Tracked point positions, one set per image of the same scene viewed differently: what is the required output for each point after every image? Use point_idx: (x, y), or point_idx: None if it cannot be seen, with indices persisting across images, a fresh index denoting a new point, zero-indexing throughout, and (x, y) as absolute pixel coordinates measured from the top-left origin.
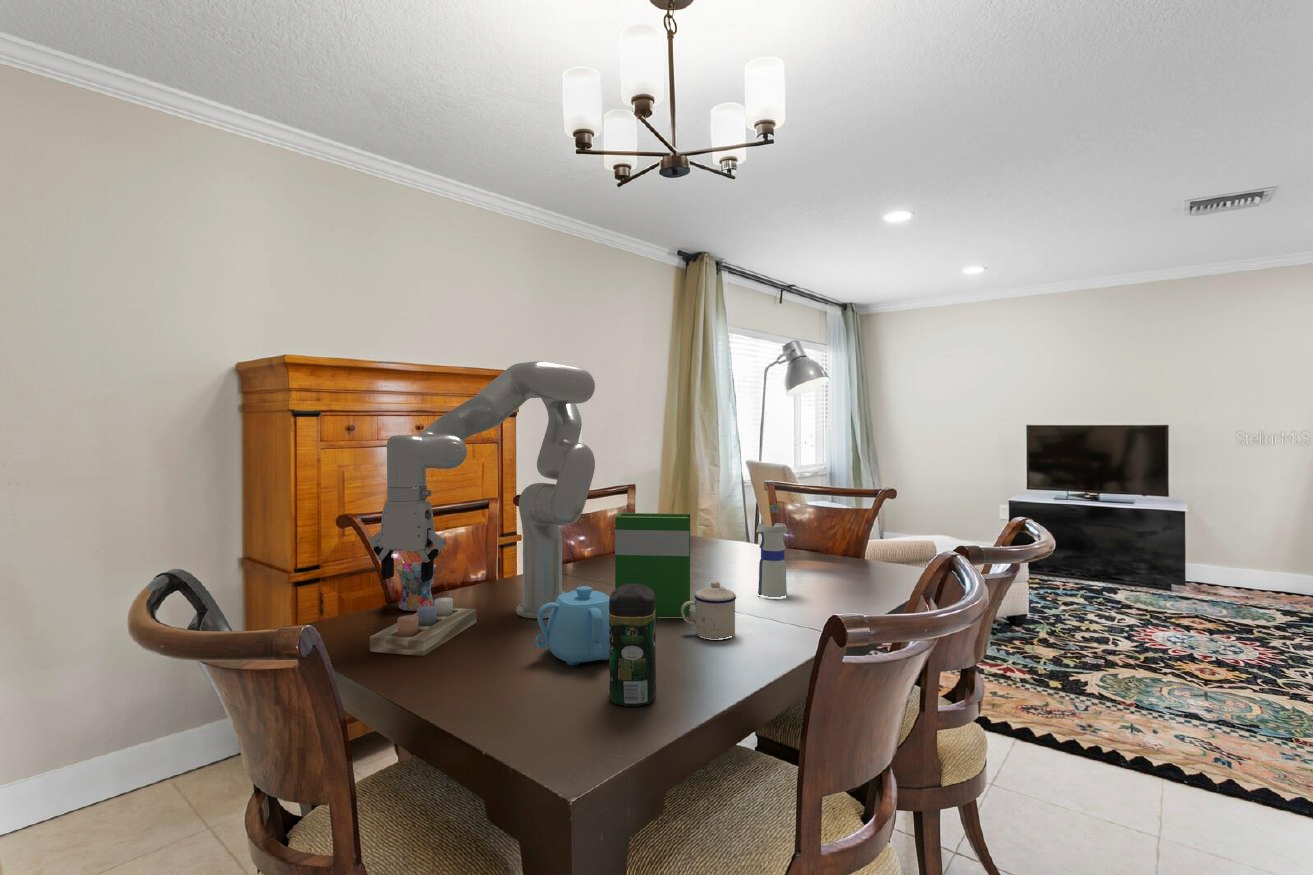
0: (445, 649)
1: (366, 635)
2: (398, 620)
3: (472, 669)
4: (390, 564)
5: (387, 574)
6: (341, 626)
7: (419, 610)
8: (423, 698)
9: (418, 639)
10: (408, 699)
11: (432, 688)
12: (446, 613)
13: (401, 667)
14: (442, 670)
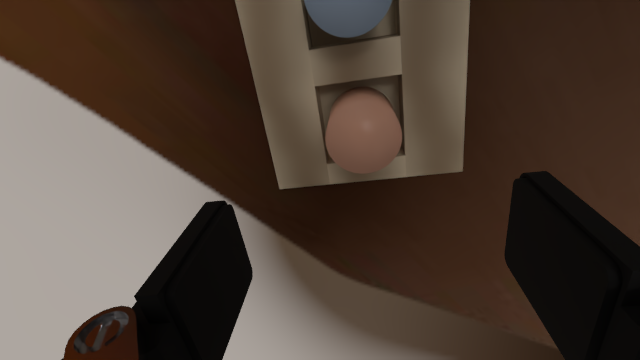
0: (487, 88)
1: (160, 65)
2: (346, 169)
3: (633, 190)
4: (209, 300)
5: (239, 275)
6: (4, 18)
7: (336, 31)
8: None
9: (438, 166)
10: (541, 327)
11: None
12: None
13: (437, 225)
14: None
